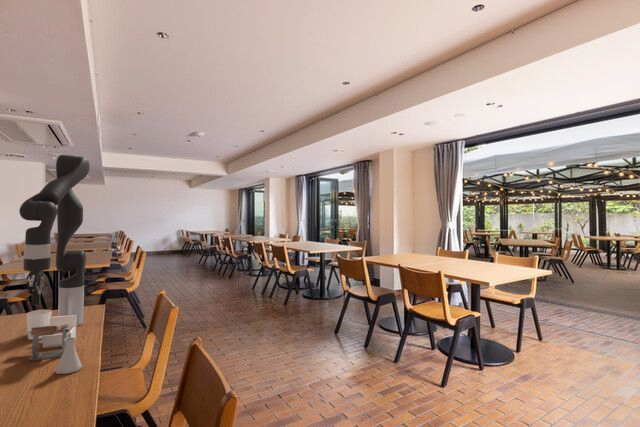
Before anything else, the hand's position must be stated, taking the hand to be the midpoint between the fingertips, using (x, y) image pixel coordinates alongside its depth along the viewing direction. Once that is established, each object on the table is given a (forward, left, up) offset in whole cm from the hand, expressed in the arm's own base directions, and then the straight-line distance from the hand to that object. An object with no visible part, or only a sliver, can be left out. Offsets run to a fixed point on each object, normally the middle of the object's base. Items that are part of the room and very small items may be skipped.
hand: (35, 304), depth 126 cm
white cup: (-17, -3, -17) cm, 24 cm away
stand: (+7, +6, -17) cm, 19 cm away
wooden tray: (+7, +4, -9) cm, 12 cm away
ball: (-9, +6, -14) cm, 18 cm away
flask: (+22, +15, -17) cm, 31 cm away
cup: (-7, +6, -17) cm, 19 cm away
